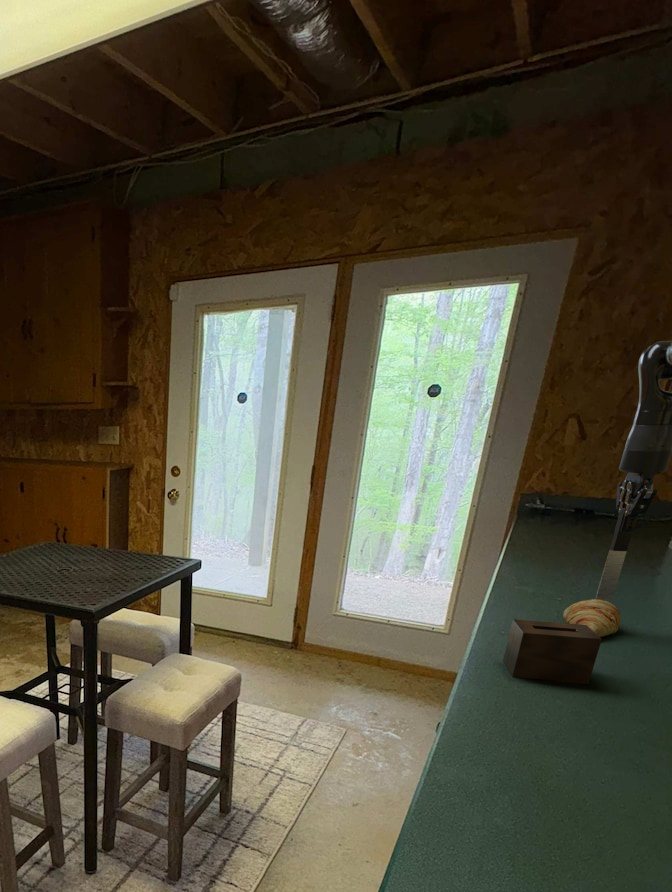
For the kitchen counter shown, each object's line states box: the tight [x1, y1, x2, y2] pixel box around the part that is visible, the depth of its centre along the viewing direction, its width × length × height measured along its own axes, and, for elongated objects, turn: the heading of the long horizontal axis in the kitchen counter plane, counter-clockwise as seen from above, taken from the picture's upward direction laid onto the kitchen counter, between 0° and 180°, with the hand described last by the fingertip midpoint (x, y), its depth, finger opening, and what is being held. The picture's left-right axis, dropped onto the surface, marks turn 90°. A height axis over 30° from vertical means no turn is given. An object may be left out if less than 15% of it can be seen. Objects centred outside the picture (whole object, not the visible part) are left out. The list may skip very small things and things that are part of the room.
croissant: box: [562, 598, 621, 638], centre depth 142 cm, size 21×10×8 cm, turn 141°
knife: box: [595, 508, 633, 600], centre depth 136 cm, size 3×2×20 cm, turn 68°
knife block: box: [502, 618, 603, 685], centre depth 120 cm, size 12×8×9 cm
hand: (623, 531), depth 135 cm, fingers closed on knife, 2 cm apart
